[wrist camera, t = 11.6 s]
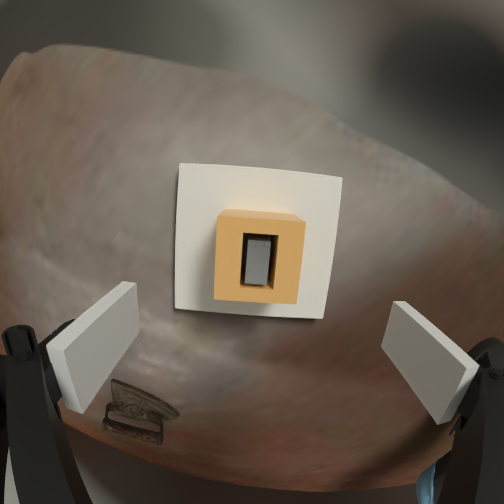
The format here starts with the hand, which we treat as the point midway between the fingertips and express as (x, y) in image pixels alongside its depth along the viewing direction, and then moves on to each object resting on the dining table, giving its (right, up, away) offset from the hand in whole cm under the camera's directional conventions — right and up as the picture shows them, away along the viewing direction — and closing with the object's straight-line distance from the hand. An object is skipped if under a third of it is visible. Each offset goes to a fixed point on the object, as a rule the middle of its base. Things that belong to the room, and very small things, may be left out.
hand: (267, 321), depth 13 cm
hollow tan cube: (0, +4, +16) cm, 17 cm away
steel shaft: (0, +4, +16) cm, 17 cm away
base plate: (0, +4, +18) cm, 19 cm away
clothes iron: (-17, -20, +24) cm, 35 cm away
